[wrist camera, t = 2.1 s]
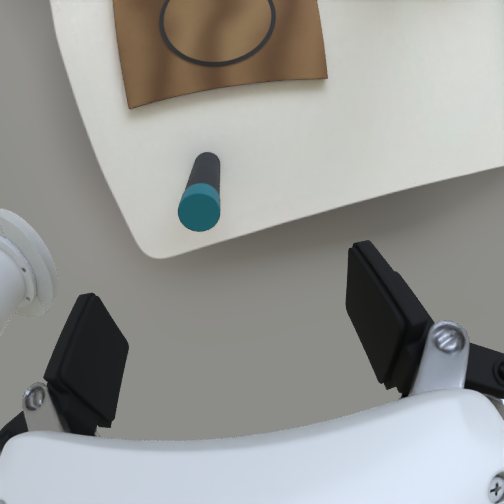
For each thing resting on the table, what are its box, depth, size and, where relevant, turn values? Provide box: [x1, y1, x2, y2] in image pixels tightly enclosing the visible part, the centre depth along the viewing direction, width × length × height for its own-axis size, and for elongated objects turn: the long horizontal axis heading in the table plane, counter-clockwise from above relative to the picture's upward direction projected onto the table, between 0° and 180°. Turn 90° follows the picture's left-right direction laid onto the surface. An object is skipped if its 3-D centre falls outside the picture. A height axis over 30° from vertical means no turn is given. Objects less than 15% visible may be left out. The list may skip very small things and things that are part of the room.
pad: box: [113, 0, 328, 109], centre depth 18 cm, size 18×14×1 cm
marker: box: [178, 152, 220, 232], centre depth 21 cm, size 2×2×11 cm
